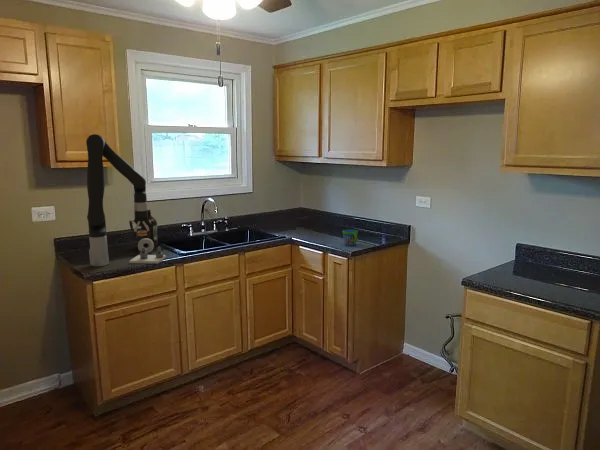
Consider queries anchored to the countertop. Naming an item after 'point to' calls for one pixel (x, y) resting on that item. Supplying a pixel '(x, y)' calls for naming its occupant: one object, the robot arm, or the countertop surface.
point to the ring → (141, 233)
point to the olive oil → (152, 232)
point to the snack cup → (350, 237)
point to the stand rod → (143, 254)
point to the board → (149, 260)
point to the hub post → (159, 253)
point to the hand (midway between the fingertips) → (142, 237)
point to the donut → (148, 241)
